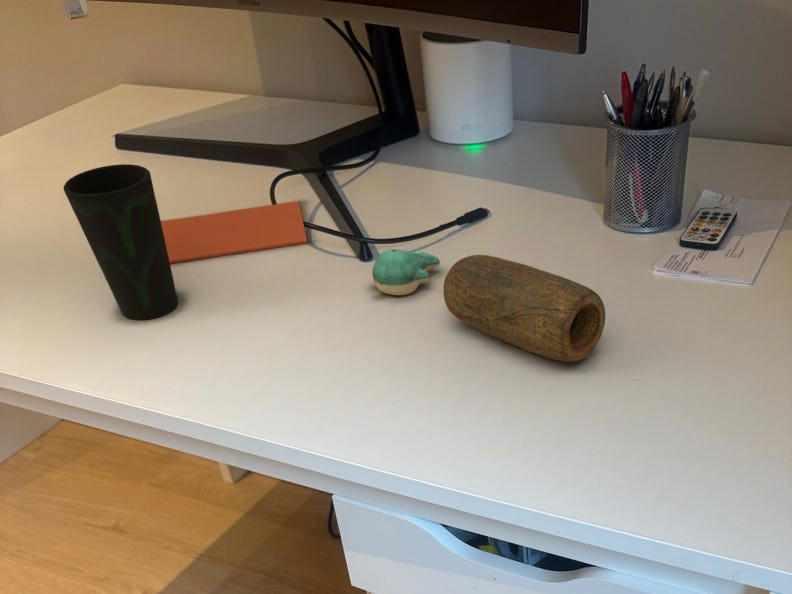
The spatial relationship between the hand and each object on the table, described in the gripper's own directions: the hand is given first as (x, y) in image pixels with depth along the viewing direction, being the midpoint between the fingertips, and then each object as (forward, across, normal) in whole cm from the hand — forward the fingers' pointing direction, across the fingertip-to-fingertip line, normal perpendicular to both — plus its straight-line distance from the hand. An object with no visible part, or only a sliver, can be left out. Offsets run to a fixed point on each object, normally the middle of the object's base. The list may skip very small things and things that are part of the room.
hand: (16, 29), depth 67 cm
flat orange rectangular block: (+25, -15, -19) cm, 35 cm away
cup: (+25, -4, -6) cm, 26 cm away
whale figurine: (+25, -26, +6) cm, 37 cm away
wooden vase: (+25, -29, +23) cm, 45 cm away
